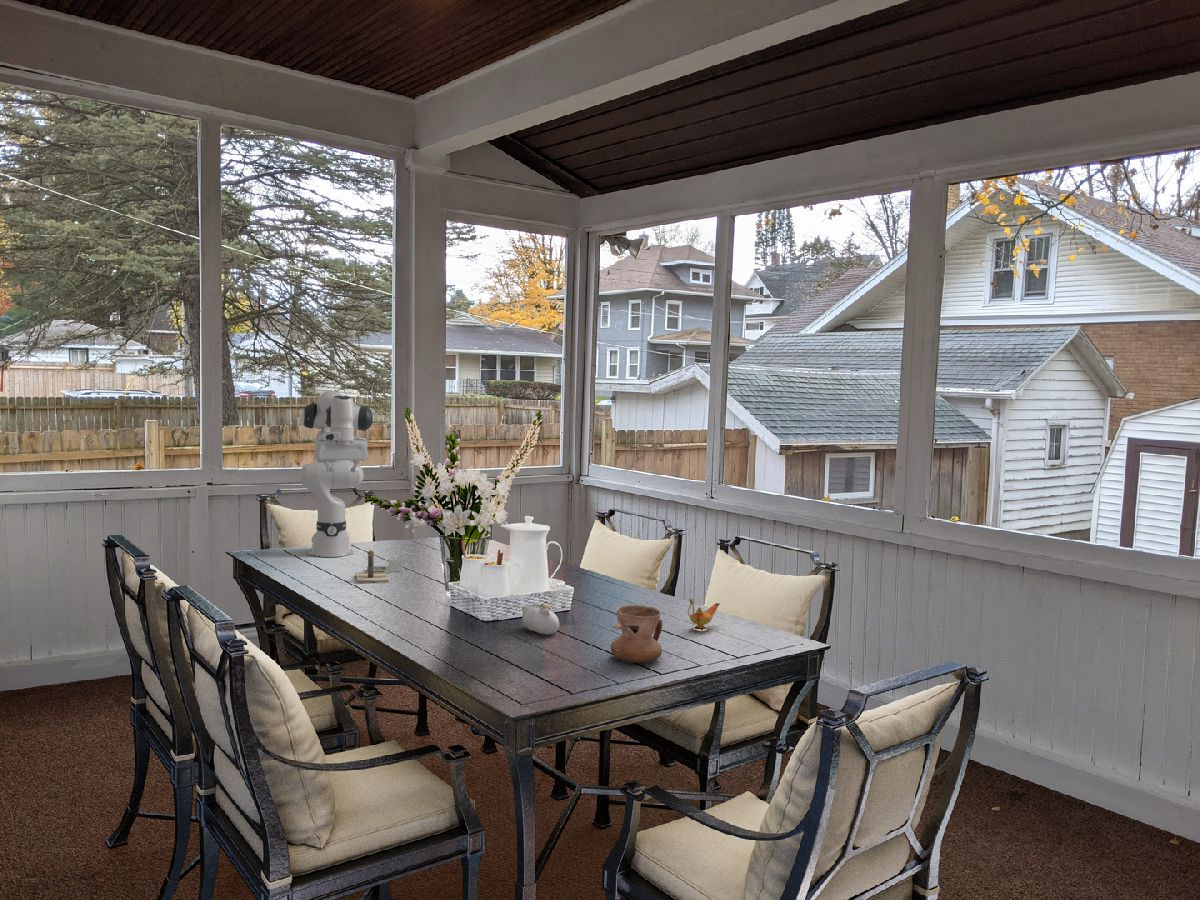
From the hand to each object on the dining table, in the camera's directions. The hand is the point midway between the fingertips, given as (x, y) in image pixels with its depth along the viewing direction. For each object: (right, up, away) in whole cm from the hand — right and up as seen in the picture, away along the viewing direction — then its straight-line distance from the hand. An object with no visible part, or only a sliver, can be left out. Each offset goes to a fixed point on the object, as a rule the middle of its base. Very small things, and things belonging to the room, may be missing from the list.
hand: (341, 472), depth 350 cm
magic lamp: (+134, -49, -64) cm, 156 cm away
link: (+17, -39, -1) cm, 43 cm away
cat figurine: (+83, -48, -74) cm, 120 cm away
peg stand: (+15, -40, -13) cm, 45 cm away
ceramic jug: (+112, -51, -97) cm, 157 cm away
